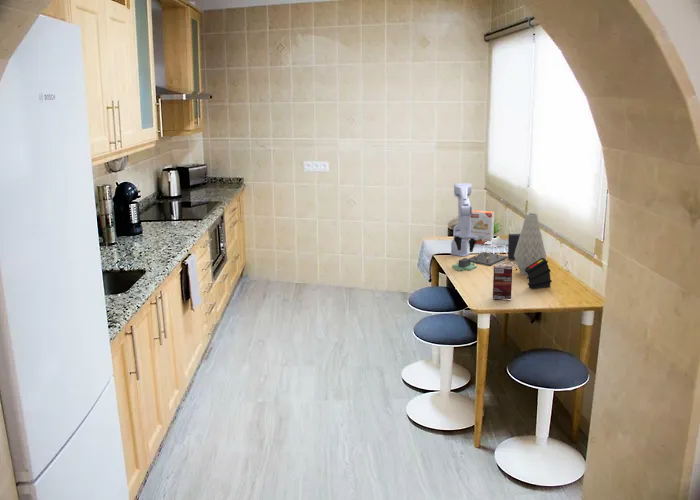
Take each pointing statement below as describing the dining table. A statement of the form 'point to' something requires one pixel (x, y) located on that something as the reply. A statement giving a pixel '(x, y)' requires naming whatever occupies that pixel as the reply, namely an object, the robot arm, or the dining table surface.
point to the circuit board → (456, 267)
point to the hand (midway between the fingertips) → (465, 250)
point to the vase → (529, 243)
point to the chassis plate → (487, 258)
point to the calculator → (512, 245)
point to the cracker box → (482, 225)
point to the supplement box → (502, 282)
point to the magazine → (538, 274)
